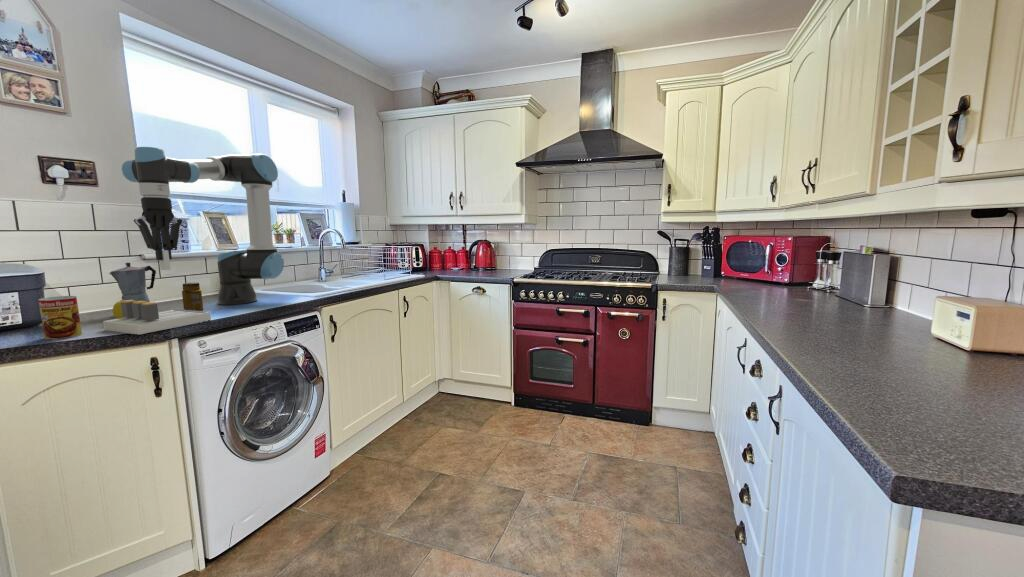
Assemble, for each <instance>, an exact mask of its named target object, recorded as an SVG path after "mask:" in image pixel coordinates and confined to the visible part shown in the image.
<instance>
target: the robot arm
mask: <svg viewBox="0 0 1024 577" xmlns="http://www.w3.org/2000/svg"><path fill="white" fill-rule="evenodd" d="M121 172H122V175H123V177H124V178H125V179H126V180H127V181H129V182H132V183H138V190H139V196H142V197H141V198H140V204H141V208H142V212H141V216H140V217H138V218H134V219H133V222H134V224H136V226H137V227H138V229H139V231H140V234H141V236H142V238H143V240H144V244H145V245H146V247H147V249H150V250H153V251H155V253H154V254H155V259H156V261H159V268H160V271H170V270H171V269H172V268H171V260H172V258H173V257H172V250H174V249H175V248H178V242H179V235H180V227H181V225H182V223H183V219H182V218H180V219H179V218H177V217H176V216H175V214H174V213H173V211H172V210H173V205H172V199H171V198H170V197H171V191H170V190H171V189H170V183H185V184H187V183H188V184H190V183H191V184H193V183H195V182H197V181H198V180H211V181H214V182H215V181H218V182H219V181H223V182H234V183H240V184H241V186H242V187H243V188H244V189H245V194H246V196H245V197H246V206H247V208H246V209H247V220H248V223H247V224H248V230H249V231H248V233H249V234H248V235H249V244H250V245H249V246H248V247H247V248H246V249H240V250H239V249H237V250H229V251H228V250H227V251H223V252H220V253H218V254H217V269H218V278H219V290H218V294H217V298H216V302H217V303H216V304H217V305H222V306H223V305H226V306H228V305H241V304H248V303H254V302H257V301H258V298H257V297H258V296H257V293H256V292H255V289H254V288H253V286H252V282H251V281H252V280H269V279H270V280H271V279H276V278H278V277H280V276H281V274H282V273H283V270H284V266H285V259H284V257H283V256H282V254H281V253H279V252H278V248H277V247H276V246H275V245H274V244H273V230H272V229H273V228H272V216H271V204H270V203H271V202H270V191H271V189H272V188H273V183H274V182H275V181H277V180H278V177H279V172H278V168H277V165H276V163H275V161H273V158H272V157H271V156H268V155H267V154H265V153H242V154H239V153H238V154H237V153H235V154H234V153H233V154H226V155H225V154H224V155H220V156H219V155H218V156H209V157H206V158H205V159H180V158H179V159H178V158H172V157H167V155H166V151H165V150H164V149H162V148H160V147H151V146H138V147H135V149H134V159H131V160H126V161H124V162H123V163H122V165H121ZM147 223H148V224H149V226H148V224H147ZM170 224H171V225H170Z"/></svg>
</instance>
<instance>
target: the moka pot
mask: <svg viewBox="0 0 1024 577" xmlns="http://www.w3.org/2000/svg"><path fill="white" fill-rule="evenodd" d="M124 264H125V266H126V267H121V268H118V269H115V270H111V271H110V272H108V274H109V275H111V276H112V277H113V279H114V281H116V282H117V285H118V288H119V290H120V292H121V300H124V301H125V300H135V301H146V302H151V301H150V298H149V295H148V293H147V291H146V290H151V289H154V284H155V278H156V273H157V270H155V268H153V267H152V266H150V265H146V266H141V267H137V266H131V262H125V263H124ZM148 271H151V277H150V278H151V279H150V284H149V286H147V284H146V281H147V280H146V272H148Z"/></svg>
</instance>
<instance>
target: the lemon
mask: <svg viewBox="0 0 1024 577" xmlns="http://www.w3.org/2000/svg"><path fill="white" fill-rule="evenodd" d="M122 301H124V300H122V299H120V300H118V301H117V302H116V303H115V304H113V306H112V314H113V316H114V319H120V318H125V317H123V315H122V308H121V302H122Z"/></svg>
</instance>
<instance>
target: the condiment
mask: <svg viewBox="0 0 1024 577" xmlns="http://www.w3.org/2000/svg"><path fill="white" fill-rule="evenodd" d="M200 288H201V287H200V283H199V282H186V283H182V291H181V295H182V304H183V310H193V311H204V303H203V295H202V289H200Z"/></svg>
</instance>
